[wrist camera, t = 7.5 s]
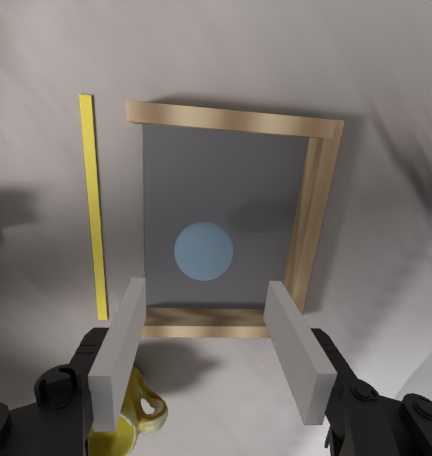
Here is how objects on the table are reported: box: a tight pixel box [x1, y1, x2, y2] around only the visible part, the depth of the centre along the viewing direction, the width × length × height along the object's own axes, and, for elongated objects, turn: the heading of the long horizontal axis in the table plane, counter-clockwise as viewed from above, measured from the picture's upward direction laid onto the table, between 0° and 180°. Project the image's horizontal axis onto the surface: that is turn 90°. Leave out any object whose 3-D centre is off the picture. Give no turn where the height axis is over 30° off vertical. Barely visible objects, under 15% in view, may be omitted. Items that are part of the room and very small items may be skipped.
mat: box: [143, 124, 309, 309], centre depth 28 cm, size 16×20×1 cm
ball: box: [174, 222, 233, 281], centre depth 22 cm, size 5×5×5 cm
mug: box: [88, 366, 168, 456], centre depth 30 cm, size 12×10×10 cm
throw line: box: [79, 94, 108, 320], centre depth 27 cm, size 1×24×1 cm, turn 176°
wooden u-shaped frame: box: [125, 100, 345, 338], centre depth 27 cm, size 18×23×4 cm
